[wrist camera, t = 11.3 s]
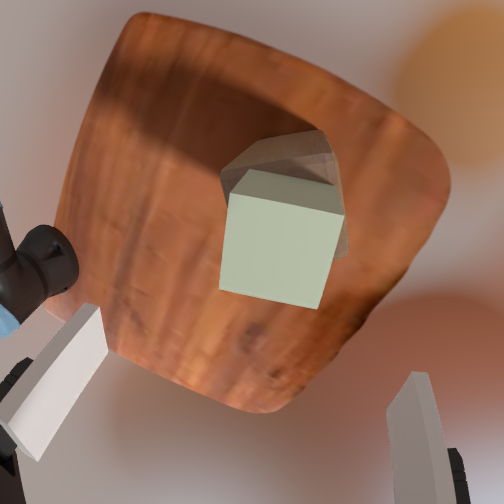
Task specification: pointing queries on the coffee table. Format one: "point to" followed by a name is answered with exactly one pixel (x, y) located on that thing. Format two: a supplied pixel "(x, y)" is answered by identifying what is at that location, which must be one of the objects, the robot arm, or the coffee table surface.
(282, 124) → the coffee table surface
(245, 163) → the wooden block
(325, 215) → the sage cube
